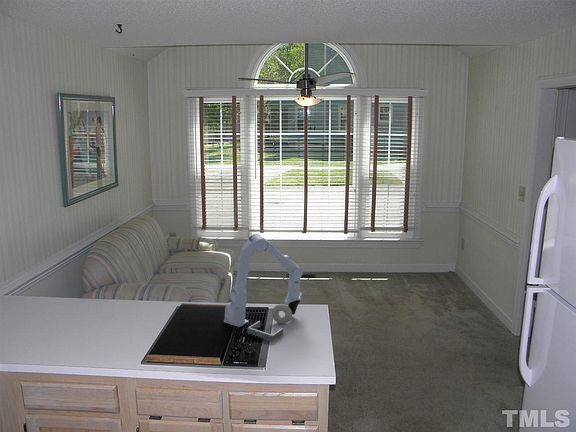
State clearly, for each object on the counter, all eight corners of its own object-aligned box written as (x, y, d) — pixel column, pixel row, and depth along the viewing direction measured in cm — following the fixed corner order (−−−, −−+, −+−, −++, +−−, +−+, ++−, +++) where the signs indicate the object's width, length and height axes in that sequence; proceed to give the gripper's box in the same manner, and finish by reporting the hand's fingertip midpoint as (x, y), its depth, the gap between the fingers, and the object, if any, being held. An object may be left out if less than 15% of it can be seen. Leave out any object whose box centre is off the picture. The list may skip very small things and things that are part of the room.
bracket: (247, 333, 235) (247, 327, 234) (258, 326, 242) (258, 320, 242) (272, 342, 228) (272, 336, 227) (283, 334, 236) (283, 328, 235)
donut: (292, 323, 248) (293, 304, 245) (290, 326, 244) (291, 307, 242) (272, 320, 250) (273, 301, 247) (270, 323, 246) (271, 304, 244)
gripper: (293, 294, 244) (291, 320, 248) (308, 286, 257) (306, 311, 260) (281, 291, 248) (279, 317, 251) (295, 282, 260) (294, 307, 263)
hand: (292, 313), depth 256 cm, fingers closed
